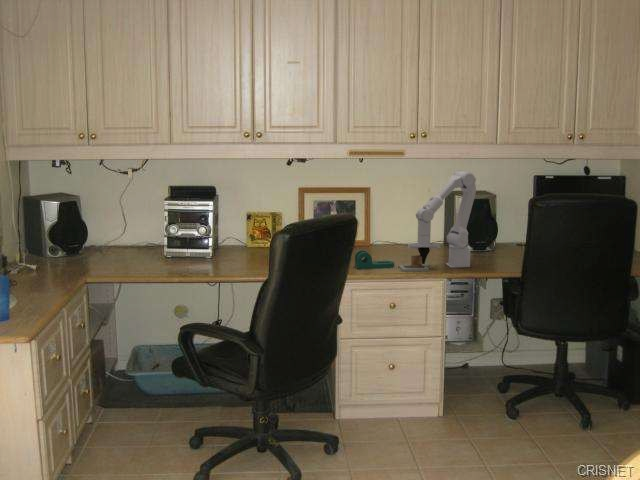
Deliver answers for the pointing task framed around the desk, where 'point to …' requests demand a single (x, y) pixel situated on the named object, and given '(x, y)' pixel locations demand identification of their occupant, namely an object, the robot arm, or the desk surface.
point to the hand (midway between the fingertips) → (423, 263)
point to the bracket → (370, 261)
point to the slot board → (408, 269)
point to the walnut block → (416, 261)
